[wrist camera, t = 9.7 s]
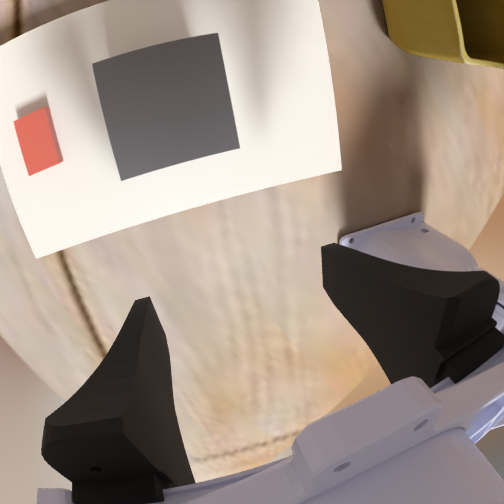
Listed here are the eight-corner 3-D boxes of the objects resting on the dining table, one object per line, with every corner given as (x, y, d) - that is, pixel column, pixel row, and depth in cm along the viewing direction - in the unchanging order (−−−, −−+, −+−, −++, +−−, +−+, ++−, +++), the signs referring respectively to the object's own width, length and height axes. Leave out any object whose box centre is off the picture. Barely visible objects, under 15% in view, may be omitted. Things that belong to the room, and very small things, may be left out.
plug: (189, 62, 17) (218, 32, 9) (203, 128, 19) (240, 148, 11) (118, 80, 16) (91, 63, 8) (134, 147, 18) (121, 181, 11)
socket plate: (292, -12, 16) (318, -28, 13) (320, 160, 23) (348, 172, 19) (-2, 62, 13) (-29, 58, 10) (48, 239, 19) (32, 264, 16)
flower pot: (372, 63, 20) (465, 63, 13) (351, -37, 16) (433, -69, 8) (444, 64, 22) (525, 73, 14) (428, -21, 17) (505, -31, 10)
